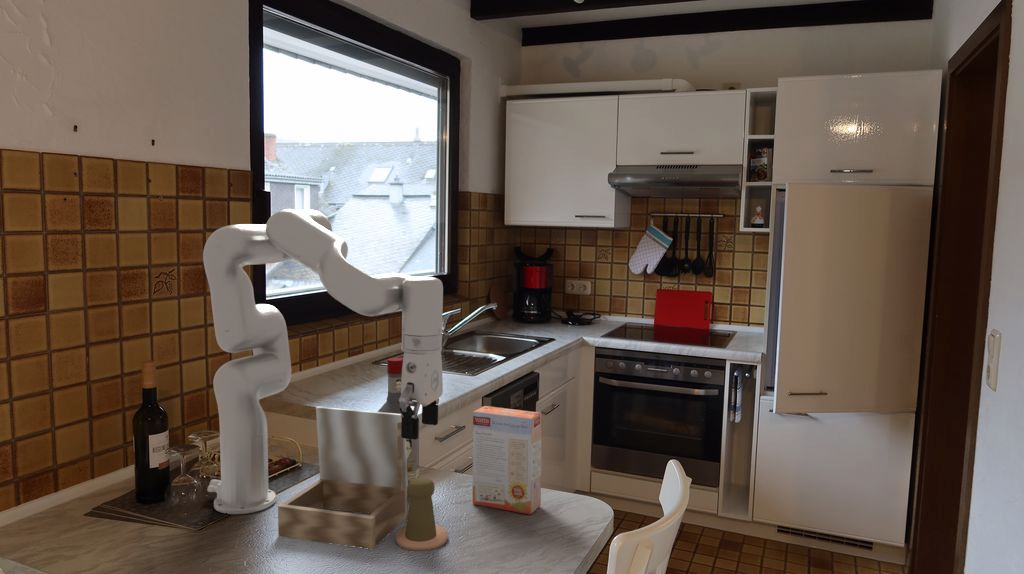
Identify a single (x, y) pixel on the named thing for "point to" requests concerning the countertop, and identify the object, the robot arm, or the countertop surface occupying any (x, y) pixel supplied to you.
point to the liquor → (394, 407)
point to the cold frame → (352, 481)
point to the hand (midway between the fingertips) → (420, 431)
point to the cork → (420, 510)
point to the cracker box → (507, 459)
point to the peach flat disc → (424, 545)
